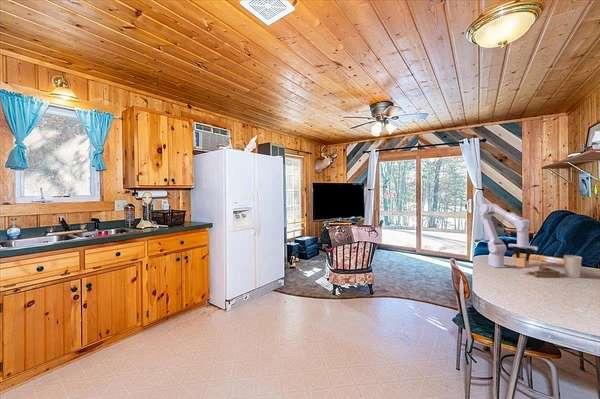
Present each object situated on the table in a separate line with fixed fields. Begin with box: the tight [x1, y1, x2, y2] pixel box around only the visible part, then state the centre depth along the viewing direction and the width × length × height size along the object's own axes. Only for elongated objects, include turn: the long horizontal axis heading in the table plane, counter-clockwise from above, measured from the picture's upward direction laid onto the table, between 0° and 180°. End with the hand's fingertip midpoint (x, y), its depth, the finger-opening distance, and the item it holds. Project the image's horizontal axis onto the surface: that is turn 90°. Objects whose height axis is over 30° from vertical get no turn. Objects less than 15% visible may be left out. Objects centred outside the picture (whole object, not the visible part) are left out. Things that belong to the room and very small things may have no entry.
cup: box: [563, 254, 583, 279], centre depth 168 cm, size 8×8×12 cm
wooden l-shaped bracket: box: [534, 265, 561, 279], centre depth 173 cm, size 14×13×4 cm
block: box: [516, 256, 530, 268], centre depth 176 cm, size 8×4×5 cm, turn 125°
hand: (522, 259), depth 176 cm, fingers closed on block, 4 cm apart
